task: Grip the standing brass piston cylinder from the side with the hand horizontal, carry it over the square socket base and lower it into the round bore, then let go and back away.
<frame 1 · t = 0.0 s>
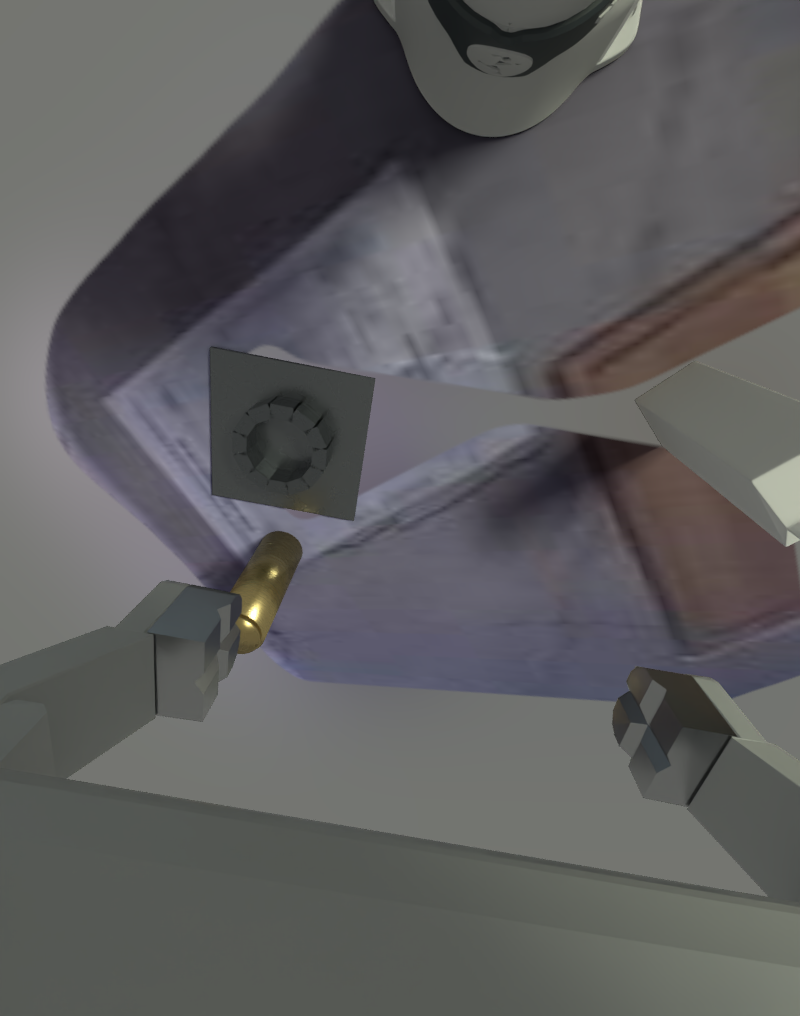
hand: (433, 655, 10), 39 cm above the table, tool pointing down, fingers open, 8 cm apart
milk: (676, 404, 45), on the table
piston: (281, 549, 56), on the table
square socket base: (288, 439, 49), on the table
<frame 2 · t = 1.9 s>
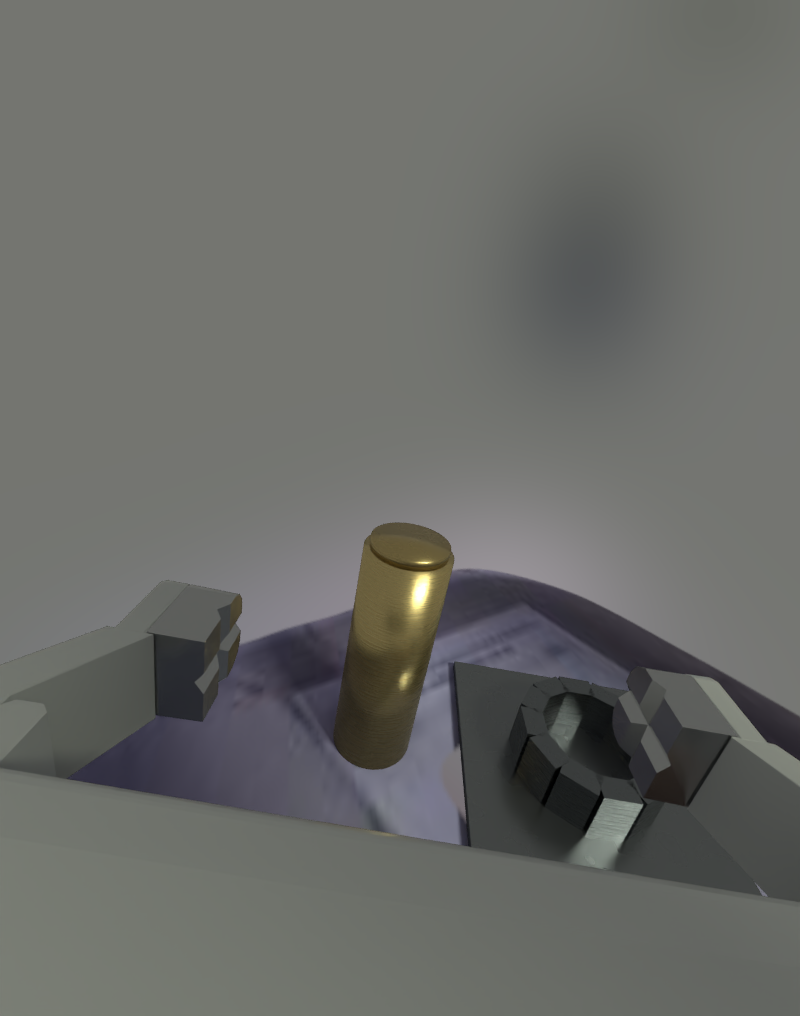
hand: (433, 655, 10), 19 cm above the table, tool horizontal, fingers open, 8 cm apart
piston: (371, 735, 31), on the table
square socket base: (577, 769, 31), on the table
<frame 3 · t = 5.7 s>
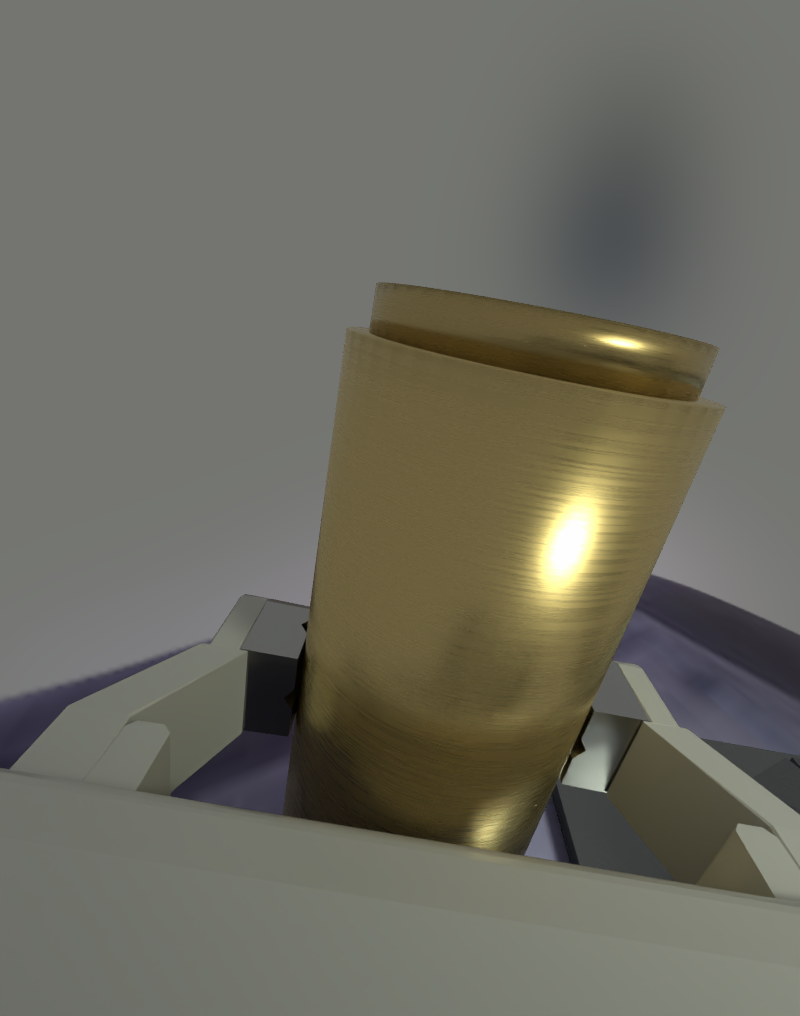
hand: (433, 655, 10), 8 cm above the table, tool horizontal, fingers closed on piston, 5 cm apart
piston: (368, 927, 12), on the table, touching gripper
when the fingers open (9 cm above the table, at t = 10.6 s): piston stays where it is, resting on square socket base.
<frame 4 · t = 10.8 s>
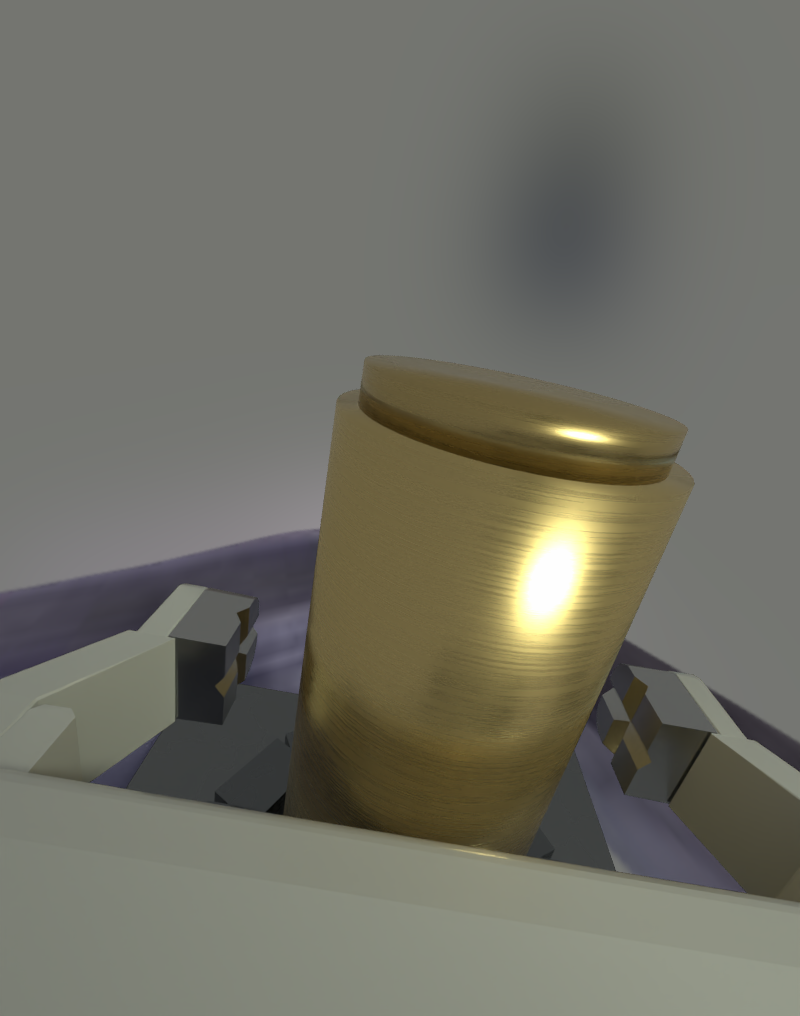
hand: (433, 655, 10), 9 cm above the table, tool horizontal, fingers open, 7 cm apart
piston: (363, 949, 12), point 1 cm above the table, touching square socket base
square socket base: (360, 957, 12), on the table
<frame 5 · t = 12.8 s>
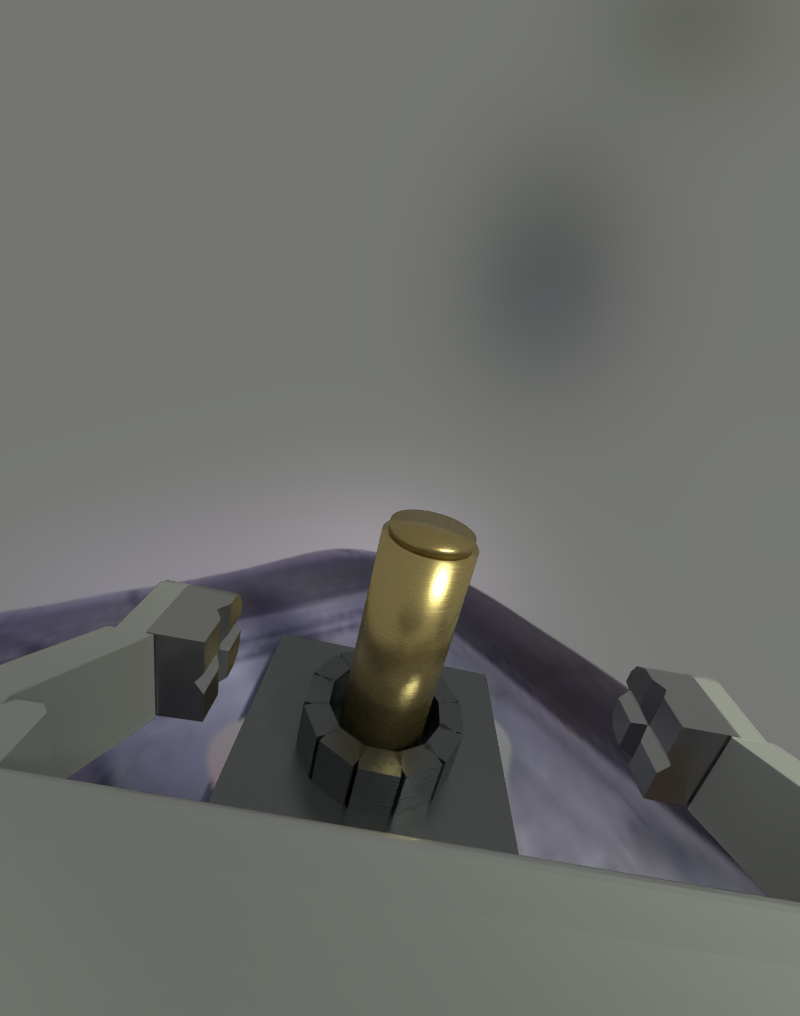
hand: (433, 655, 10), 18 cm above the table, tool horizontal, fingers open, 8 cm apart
piston: (376, 740, 29), point 1 cm above the table, touching square socket base
square socket base: (374, 745, 29), on the table
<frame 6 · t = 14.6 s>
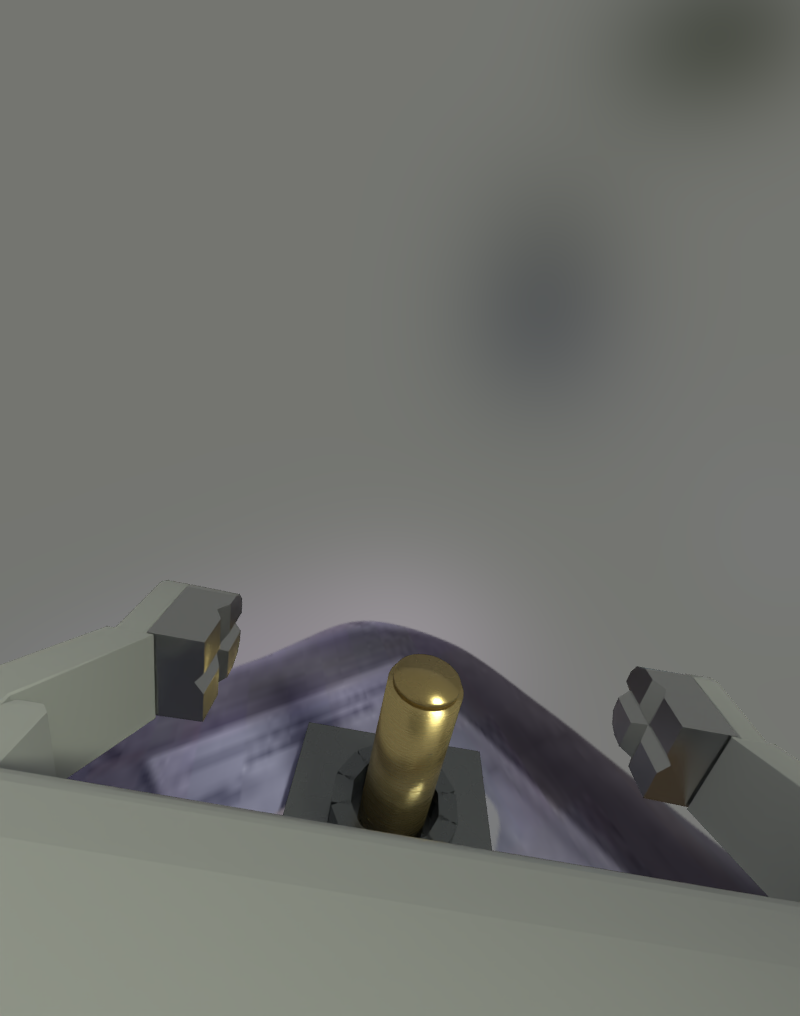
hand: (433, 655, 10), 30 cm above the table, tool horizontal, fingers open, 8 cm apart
piston: (388, 824, 36), point 1 cm above the table, touching square socket base
square socket base: (387, 828, 36), on the table
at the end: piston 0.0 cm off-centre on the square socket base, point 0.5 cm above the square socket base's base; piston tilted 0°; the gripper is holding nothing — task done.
